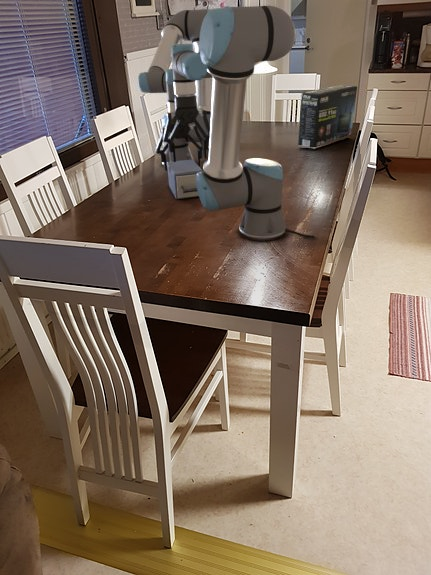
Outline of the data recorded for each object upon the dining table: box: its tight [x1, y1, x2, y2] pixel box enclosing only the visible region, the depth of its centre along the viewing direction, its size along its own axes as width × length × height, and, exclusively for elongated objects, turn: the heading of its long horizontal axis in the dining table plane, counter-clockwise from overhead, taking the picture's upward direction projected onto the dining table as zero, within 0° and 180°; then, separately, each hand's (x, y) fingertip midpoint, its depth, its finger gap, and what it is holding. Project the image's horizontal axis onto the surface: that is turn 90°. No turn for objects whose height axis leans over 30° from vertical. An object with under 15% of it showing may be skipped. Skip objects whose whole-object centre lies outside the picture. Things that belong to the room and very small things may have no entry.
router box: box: [297, 84, 358, 151], centre depth 238 cm, size 36×11×27 cm, turn 134°
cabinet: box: [167, 158, 203, 200], centre depth 185 cm, size 17×11×10 cm, turn 14°
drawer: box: [176, 173, 199, 199], centre depth 180 cm, size 21×10×8 cm, turn 14°
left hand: (182, 168), depth 186 cm, fingers open, 13 cm apart
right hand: (189, 159), depth 168 cm, fingers open, 11 cm apart
